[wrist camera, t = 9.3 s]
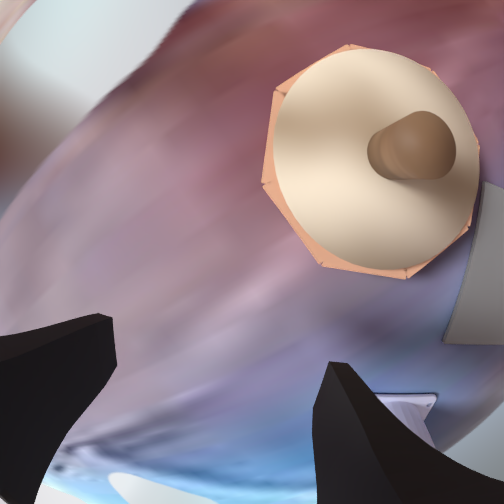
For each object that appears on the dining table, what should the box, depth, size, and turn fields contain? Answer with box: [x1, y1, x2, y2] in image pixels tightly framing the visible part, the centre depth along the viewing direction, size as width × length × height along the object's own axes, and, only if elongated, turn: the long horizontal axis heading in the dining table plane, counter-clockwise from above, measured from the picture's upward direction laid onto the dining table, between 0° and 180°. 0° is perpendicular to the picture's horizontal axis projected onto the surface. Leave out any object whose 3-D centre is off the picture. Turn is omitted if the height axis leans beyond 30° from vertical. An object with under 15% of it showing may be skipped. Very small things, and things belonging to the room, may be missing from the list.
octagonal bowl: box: [261, 44, 480, 279], centre depth 14 cm, size 12×12×4 cm
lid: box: [273, 49, 479, 270], centre depth 10 cm, size 11×11×5 cm
